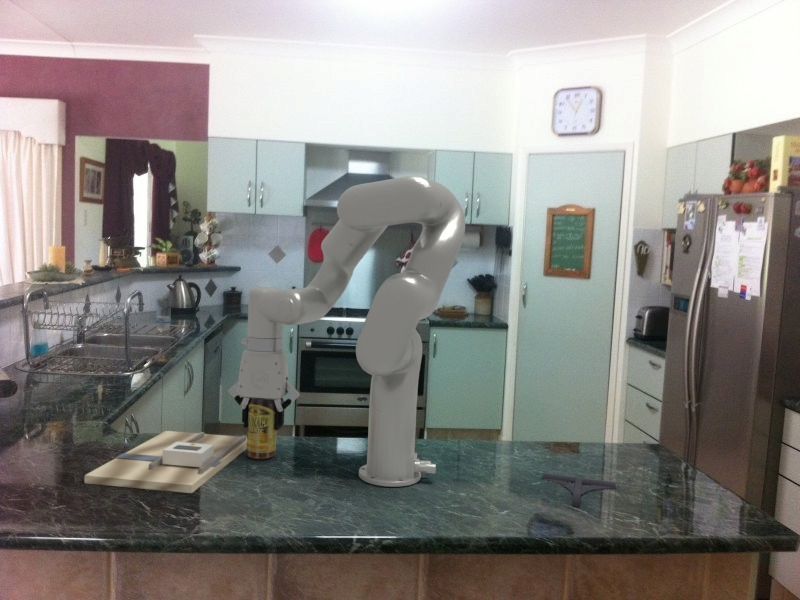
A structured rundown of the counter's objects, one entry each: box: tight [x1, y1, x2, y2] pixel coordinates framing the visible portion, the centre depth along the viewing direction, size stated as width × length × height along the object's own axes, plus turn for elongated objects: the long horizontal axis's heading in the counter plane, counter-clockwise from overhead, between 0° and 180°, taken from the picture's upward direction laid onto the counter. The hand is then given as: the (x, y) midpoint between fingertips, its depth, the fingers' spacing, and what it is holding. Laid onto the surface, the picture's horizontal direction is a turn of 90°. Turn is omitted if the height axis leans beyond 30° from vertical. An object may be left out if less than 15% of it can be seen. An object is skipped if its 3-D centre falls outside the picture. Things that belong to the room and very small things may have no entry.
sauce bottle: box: [246, 398, 278, 461], centre depth 145 cm, size 7×6×20 cm
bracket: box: [542, 472, 617, 508], centre depth 131 cm, size 14×15×3 cm
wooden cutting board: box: [83, 430, 247, 494], centre depth 140 cm, size 21×32×2 cm, turn 173°
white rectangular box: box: [163, 442, 214, 467], centre depth 135 cm, size 6×8×3 cm
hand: (262, 426), depth 145 cm, fingers closed on sauce bottle, 6 cm apart
